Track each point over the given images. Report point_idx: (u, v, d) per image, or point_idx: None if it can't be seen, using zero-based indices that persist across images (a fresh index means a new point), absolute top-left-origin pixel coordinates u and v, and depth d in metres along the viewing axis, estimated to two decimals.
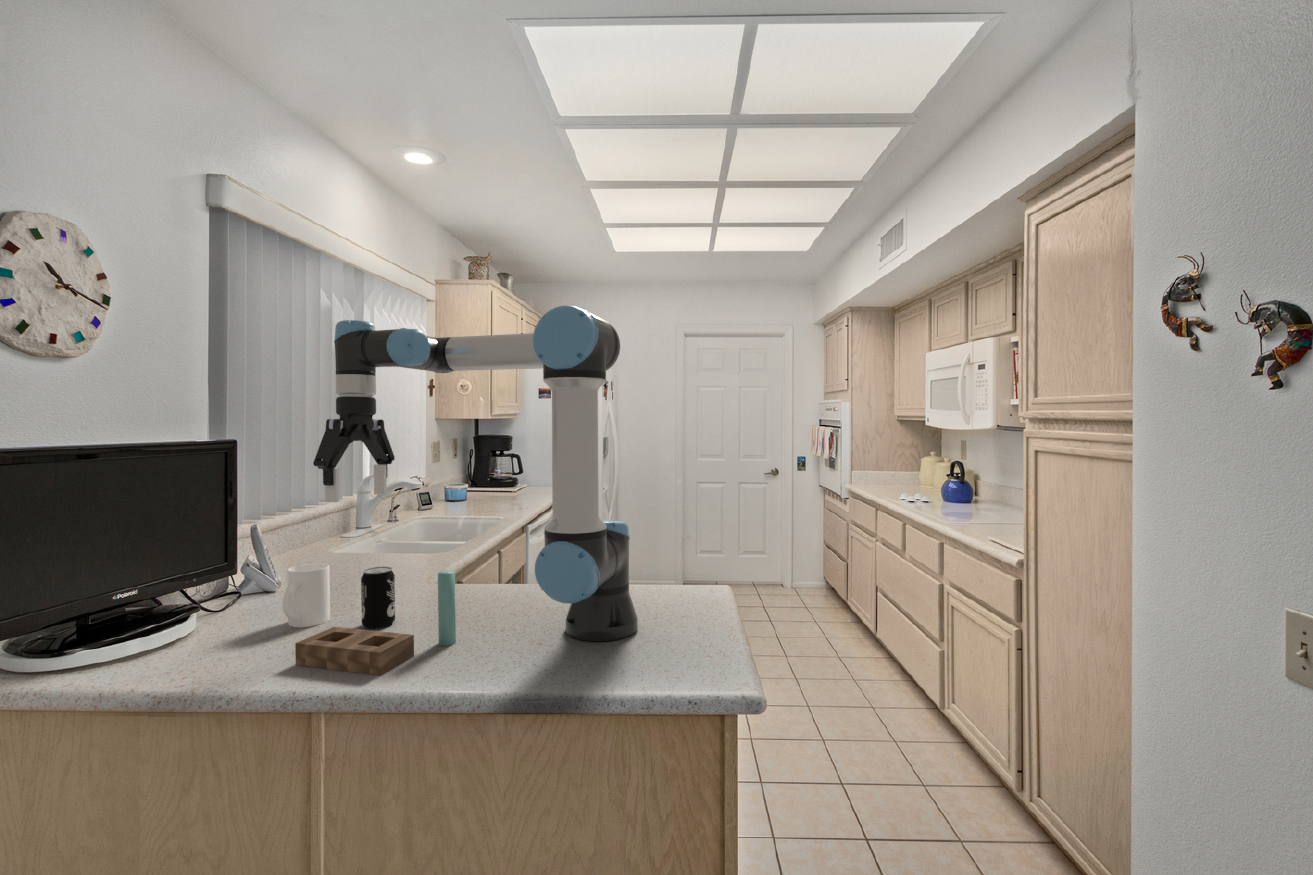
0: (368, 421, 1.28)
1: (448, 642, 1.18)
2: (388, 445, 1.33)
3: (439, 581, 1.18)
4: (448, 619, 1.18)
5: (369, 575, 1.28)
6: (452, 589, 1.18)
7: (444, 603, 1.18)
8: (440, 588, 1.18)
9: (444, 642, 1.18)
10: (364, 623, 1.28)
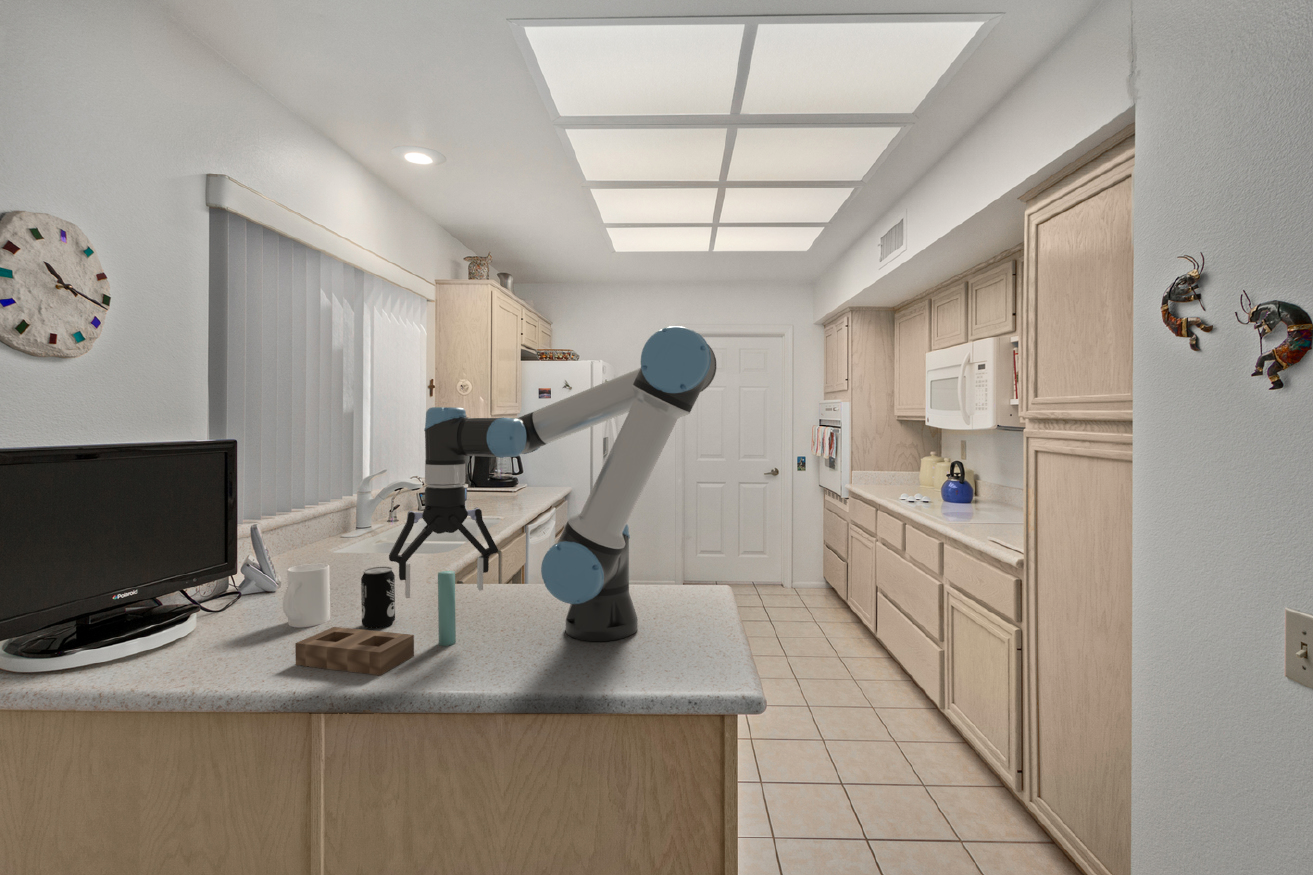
0: (457, 512, 1.19)
1: (448, 642, 1.18)
2: (488, 536, 1.21)
3: (439, 581, 1.18)
4: (448, 619, 1.18)
5: (369, 575, 1.28)
6: (452, 589, 1.18)
7: (444, 603, 1.18)
8: (440, 588, 1.18)
9: (444, 642, 1.18)
10: (364, 623, 1.28)
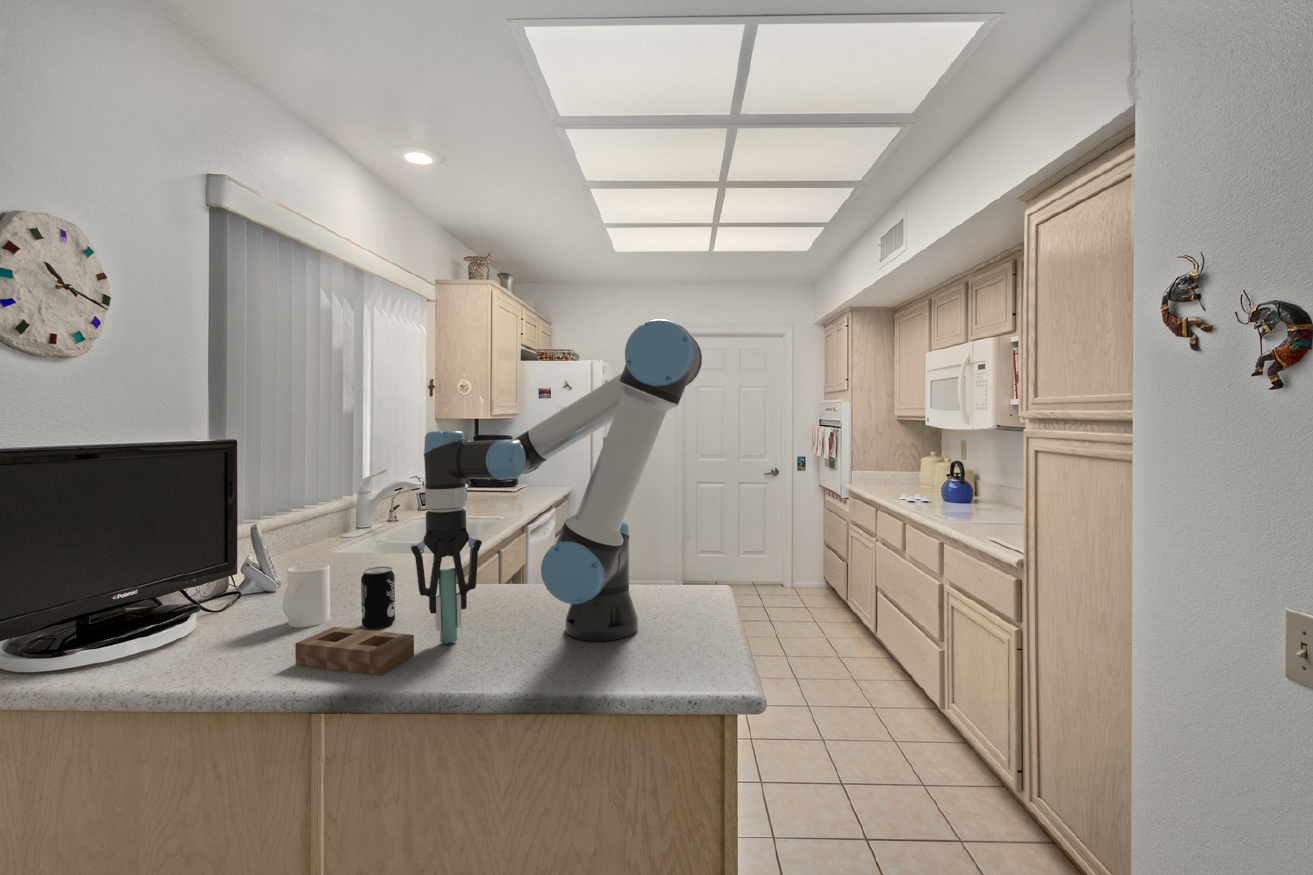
0: (460, 533, 1.19)
1: (450, 639, 1.18)
2: (474, 570, 1.20)
3: (440, 578, 1.18)
4: (449, 616, 1.18)
5: (369, 575, 1.27)
6: (453, 586, 1.18)
7: (446, 600, 1.17)
8: (441, 585, 1.18)
9: (446, 639, 1.18)
10: (364, 623, 1.28)
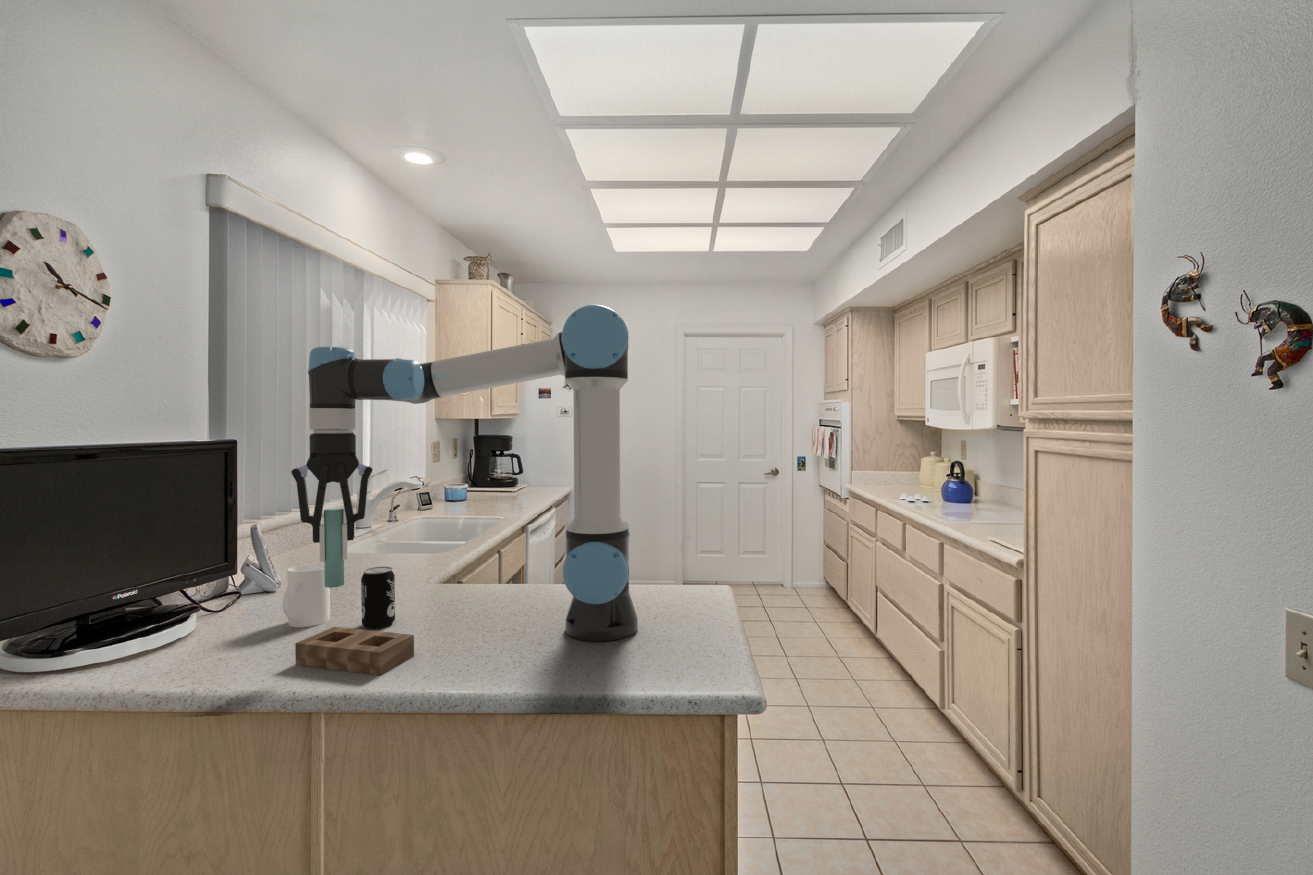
0: (348, 458, 1.11)
1: (334, 584, 1.10)
2: (363, 499, 1.12)
3: (324, 518, 1.10)
4: (334, 559, 1.10)
5: (369, 575, 1.28)
6: (339, 527, 1.10)
7: (330, 542, 1.10)
8: (325, 525, 1.10)
9: (329, 584, 1.10)
10: (364, 623, 1.28)
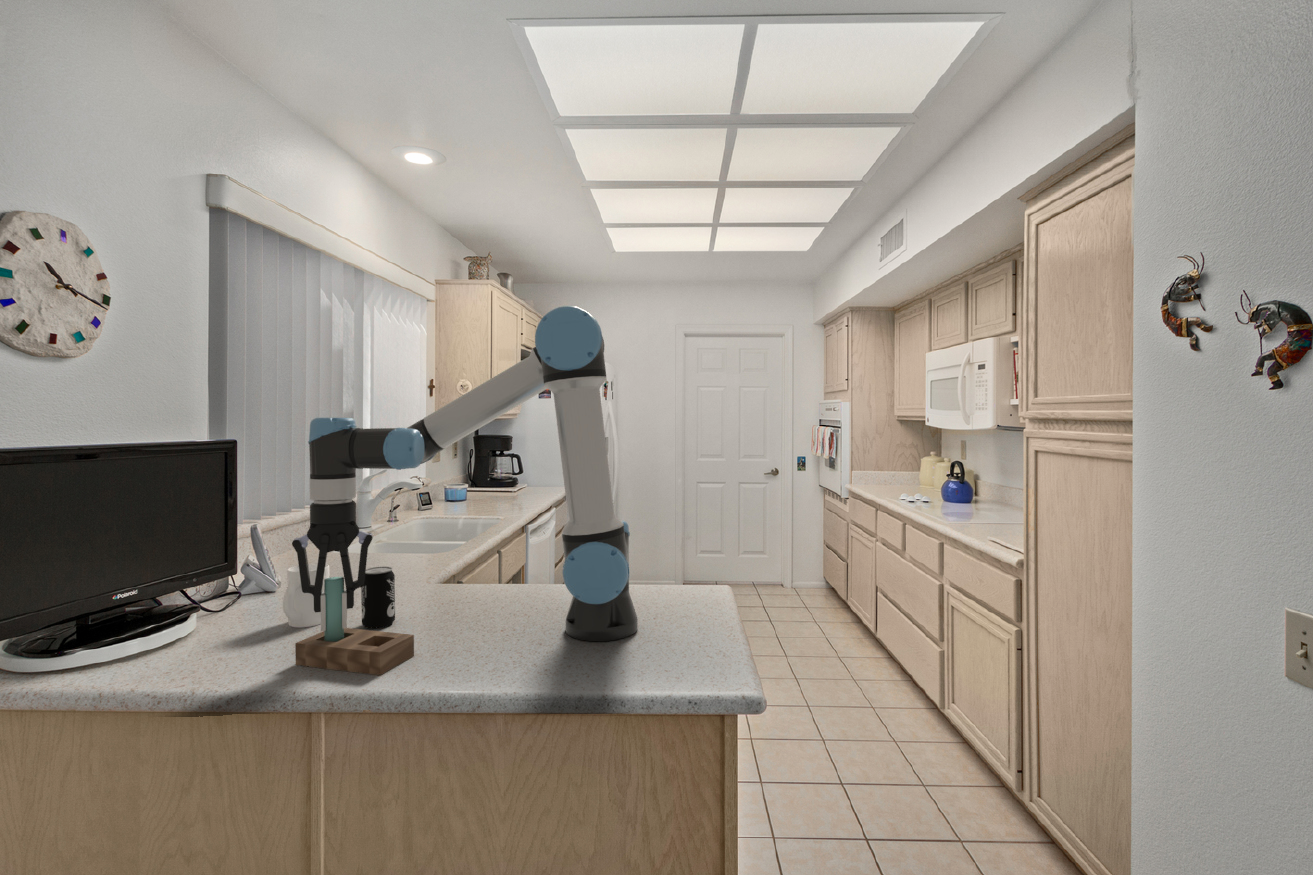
0: (349, 527, 1.11)
1: None
2: (362, 567, 1.12)
3: (325, 588, 1.10)
4: (334, 628, 1.10)
5: (369, 575, 1.28)
6: (339, 597, 1.11)
7: (330, 611, 1.10)
8: None
9: None
10: (364, 623, 1.28)
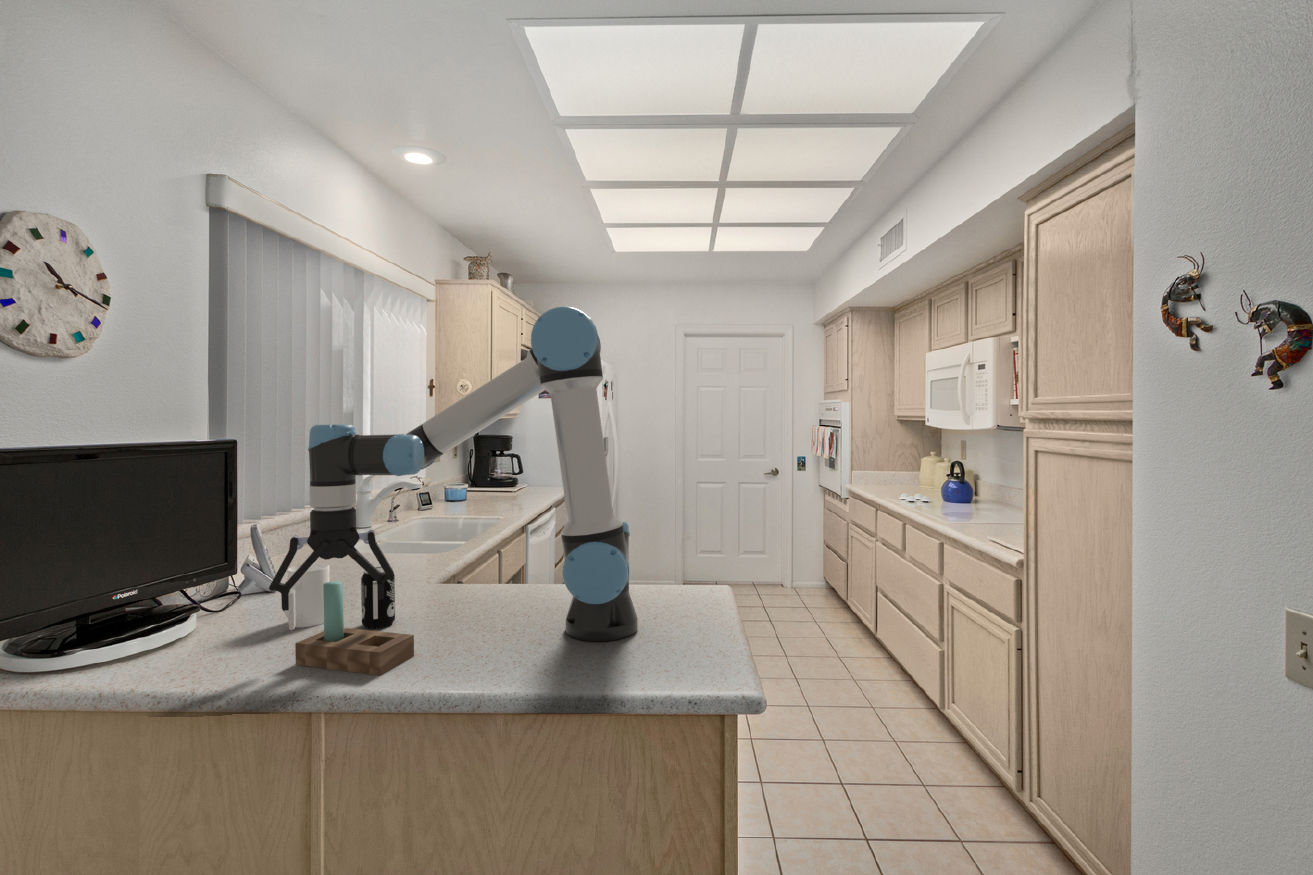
0: (346, 536, 1.11)
1: None
2: (382, 561, 1.14)
3: (324, 592, 1.10)
4: (334, 633, 1.10)
5: (369, 575, 1.28)
6: (338, 601, 1.11)
7: (329, 616, 1.10)
8: (325, 599, 1.10)
9: None
10: (364, 623, 1.28)
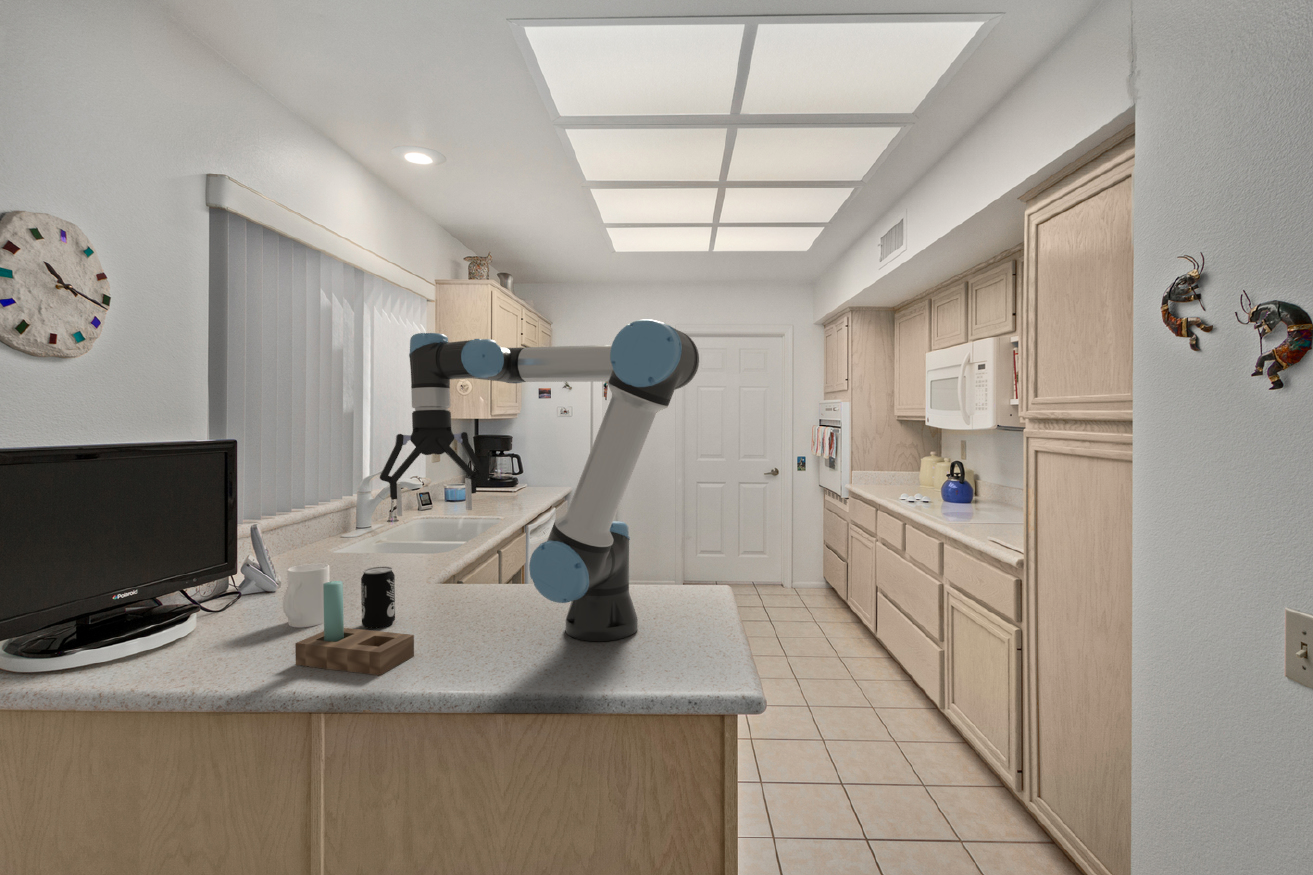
0: (444, 434, 1.24)
1: None
2: (475, 458, 1.27)
3: (324, 592, 1.10)
4: (334, 633, 1.10)
5: (369, 575, 1.28)
6: (338, 601, 1.11)
7: (329, 616, 1.10)
8: (325, 599, 1.10)
9: None
10: (364, 623, 1.28)
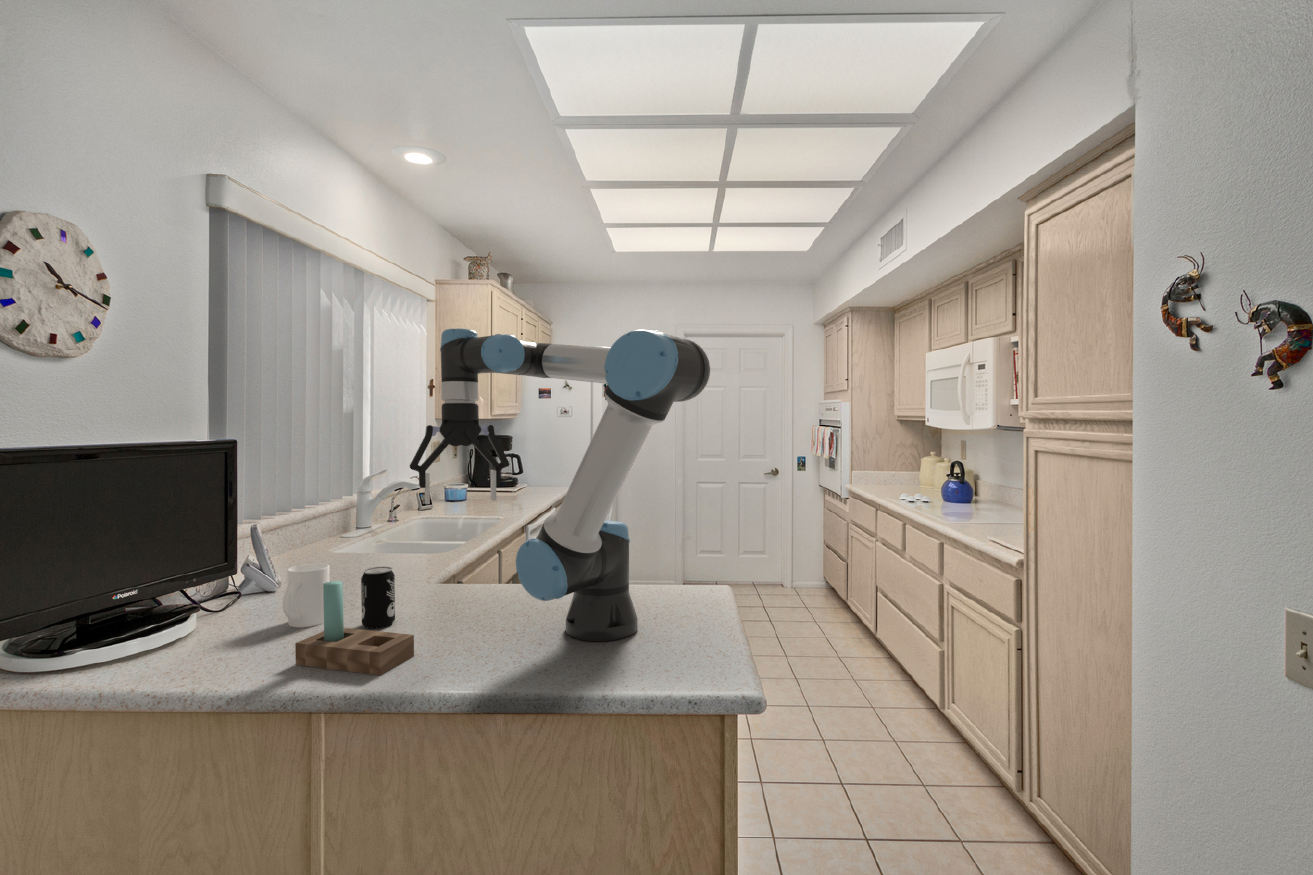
0: (471, 427, 1.29)
1: None
2: (500, 451, 1.31)
3: (324, 592, 1.10)
4: (334, 633, 1.10)
5: (369, 575, 1.28)
6: (338, 601, 1.11)
7: (329, 616, 1.10)
8: (324, 599, 1.10)
9: None
10: (364, 623, 1.28)
